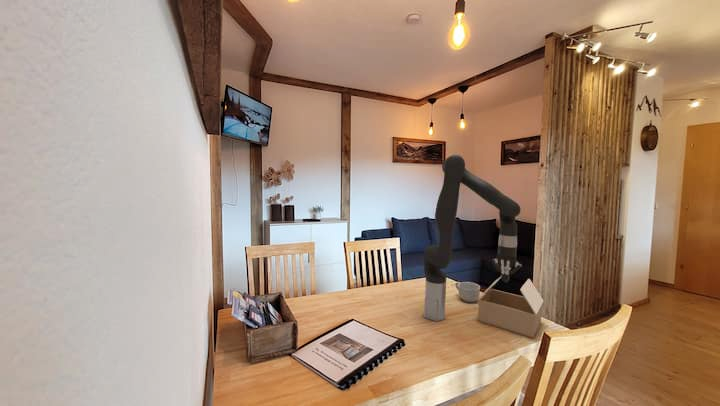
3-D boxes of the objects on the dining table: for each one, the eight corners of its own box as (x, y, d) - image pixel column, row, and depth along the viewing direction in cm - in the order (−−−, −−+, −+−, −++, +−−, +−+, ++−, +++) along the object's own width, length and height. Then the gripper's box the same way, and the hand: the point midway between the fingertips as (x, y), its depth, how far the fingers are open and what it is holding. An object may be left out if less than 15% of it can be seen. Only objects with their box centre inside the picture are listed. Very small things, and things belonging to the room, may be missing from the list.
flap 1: (494, 283, 127) (493, 282, 127) (478, 299, 131) (478, 298, 132) (504, 274, 140) (503, 273, 140) (490, 288, 145) (489, 287, 145)
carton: (533, 339, 118) (535, 315, 117) (477, 321, 132) (478, 299, 131) (540, 322, 132) (542, 301, 131) (489, 308, 146) (490, 288, 145)
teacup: (484, 302, 152) (484, 287, 152) (467, 305, 148) (468, 290, 148) (465, 292, 165) (465, 278, 164) (449, 295, 161) (450, 281, 160)
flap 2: (535, 314, 117) (536, 314, 117) (519, 289, 120) (521, 289, 120) (542, 301, 130) (543, 300, 130) (528, 278, 134) (529, 278, 133)
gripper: (489, 243, 134) (487, 280, 135) (521, 248, 125) (519, 287, 127) (494, 241, 139) (492, 276, 141) (525, 245, 131) (523, 283, 132)
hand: (505, 281), depth 134 cm, fingers closed
